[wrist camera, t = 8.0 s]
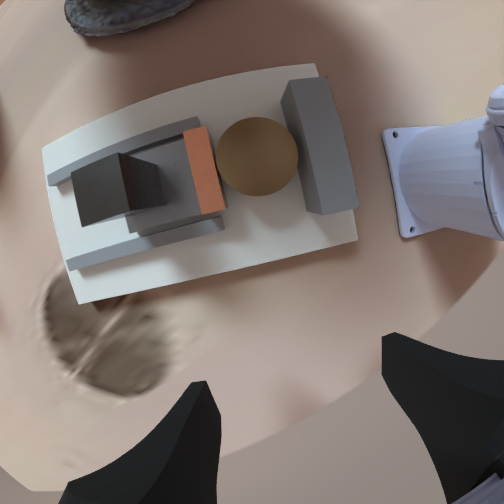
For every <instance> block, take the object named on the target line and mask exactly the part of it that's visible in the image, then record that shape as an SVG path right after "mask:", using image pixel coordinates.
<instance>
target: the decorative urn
mask: <svg viewBox="0 0 504 504" xmlns="http://www.w3.org/2000/svg"><path fill="white" fill-rule="evenodd" d="M194 1H195V0H66V2H65V5H64V6H65V7H64V8H65V10H64V11H65V15H66V19H67V21H68V22H69V23H70V24H71V27H73V29H74V32H76V33H77V34H79V33H80V34H85V36H97V37H100V36H110V35H114V34H118V33H125V32H128V31H131V30H136V29H138V28H140V27H142V26H146V25H149V24H151V23H153V22H157V21H160V20H162V19H165V18H168V17H172V16H174V15H175V14H176V13H178V12H180V11H182V10H184V9H185V8H187V7H189V6H190V4H192V3H193V2H194Z"/></svg>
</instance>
